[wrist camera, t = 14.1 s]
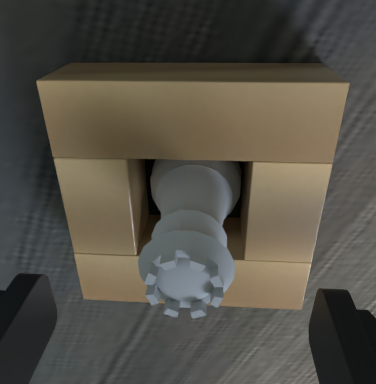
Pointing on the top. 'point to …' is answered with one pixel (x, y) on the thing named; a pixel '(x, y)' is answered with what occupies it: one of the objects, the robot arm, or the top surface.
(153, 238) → the rook chess piece
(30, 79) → the top surface
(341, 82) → the holder
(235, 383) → the top surface
